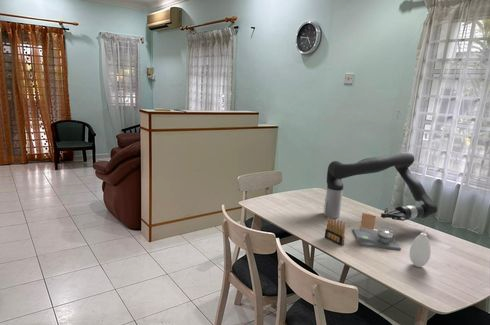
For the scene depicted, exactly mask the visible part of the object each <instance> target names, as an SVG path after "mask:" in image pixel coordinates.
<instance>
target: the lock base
mask: <svg viewBox="0 0 490 325" xmlns="http://www.w3.org/2000/svg"><path fill="white" fill-rule="evenodd" d="M352 232H353V234H354V236H355V239H357V240H356V241H357V242H358V244H359V246H361V247H367V248H377V249H387V250H395V251H401V249H402V248H401V246H400V245H399V244H398V242H397V241H396V239H395V238H394V237H393V238H392V239H383V238H381V237H379V236H378V235H375V234H371V233H366V232H362V231H360V228H352Z"/></svg>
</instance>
